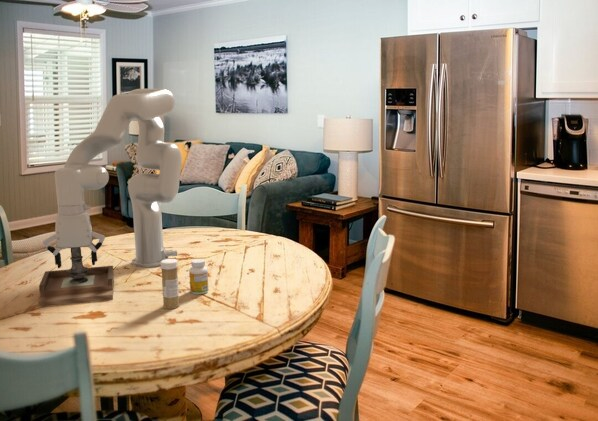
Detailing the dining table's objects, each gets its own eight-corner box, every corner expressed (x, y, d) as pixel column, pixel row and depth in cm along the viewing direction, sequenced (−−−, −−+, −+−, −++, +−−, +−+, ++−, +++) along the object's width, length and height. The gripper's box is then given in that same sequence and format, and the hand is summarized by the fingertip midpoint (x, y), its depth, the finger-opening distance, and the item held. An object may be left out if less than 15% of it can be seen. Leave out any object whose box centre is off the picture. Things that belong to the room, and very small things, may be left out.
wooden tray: (114, 280, 190) (112, 265, 189) (112, 299, 173) (111, 283, 172) (46, 286, 184) (45, 271, 183) (38, 306, 167) (37, 290, 166)
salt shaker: (82, 284, 176) (78, 245, 174) (64, 283, 177) (60, 244, 175) (92, 278, 182) (89, 240, 179) (75, 277, 183) (71, 239, 180)
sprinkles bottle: (163, 304, 169) (160, 258, 166) (179, 303, 169) (177, 257, 167) (162, 310, 164) (160, 263, 161) (179, 308, 165) (177, 262, 162)
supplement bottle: (191, 289, 181) (189, 258, 179) (209, 288, 181) (207, 257, 179) (189, 295, 176) (188, 263, 174) (207, 294, 176) (206, 263, 174)
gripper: (103, 205, 181) (107, 259, 184) (41, 209, 176) (47, 264, 180) (102, 210, 174) (106, 266, 177) (38, 214, 169) (44, 271, 172)
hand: (76, 265), depth 178 cm, fingers open, 9 cm apart
